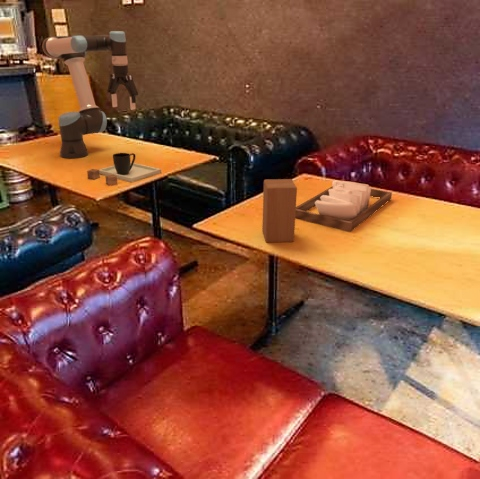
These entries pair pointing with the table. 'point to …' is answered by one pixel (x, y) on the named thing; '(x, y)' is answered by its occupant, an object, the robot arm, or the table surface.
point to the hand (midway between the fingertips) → (124, 108)
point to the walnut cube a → (93, 174)
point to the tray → (132, 172)
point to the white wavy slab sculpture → (344, 200)
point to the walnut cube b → (111, 179)
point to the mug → (123, 163)
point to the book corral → (338, 223)
